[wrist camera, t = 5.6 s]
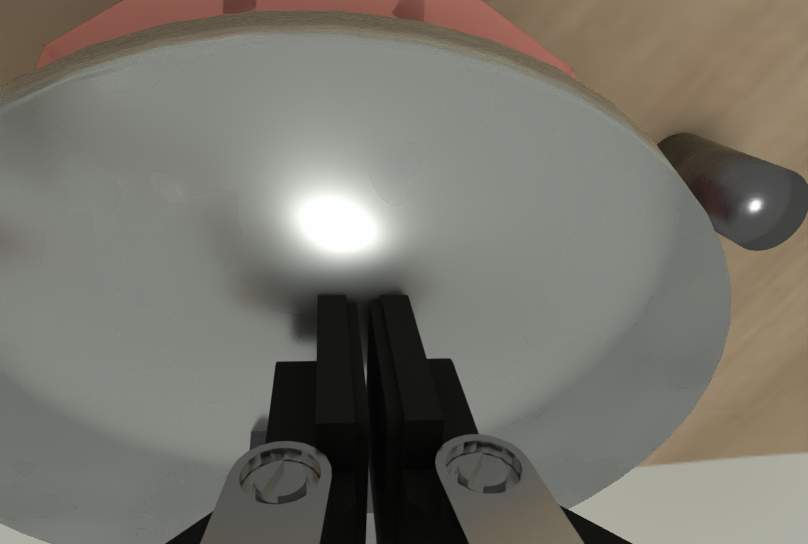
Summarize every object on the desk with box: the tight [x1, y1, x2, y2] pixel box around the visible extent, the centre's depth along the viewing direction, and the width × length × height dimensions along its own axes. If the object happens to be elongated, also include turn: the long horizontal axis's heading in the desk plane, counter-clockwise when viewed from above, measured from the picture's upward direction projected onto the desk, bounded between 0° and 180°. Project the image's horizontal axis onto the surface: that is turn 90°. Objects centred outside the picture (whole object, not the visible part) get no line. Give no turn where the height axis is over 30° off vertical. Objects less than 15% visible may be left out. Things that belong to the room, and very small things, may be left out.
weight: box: [657, 133, 808, 251], centre depth 24 cm, size 3×3×6 cm
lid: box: [0, 10, 731, 544], centre depth 15 cm, size 19×19×2 cm
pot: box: [35, 0, 576, 79], centre depth 22 cm, size 19×22×8 cm
